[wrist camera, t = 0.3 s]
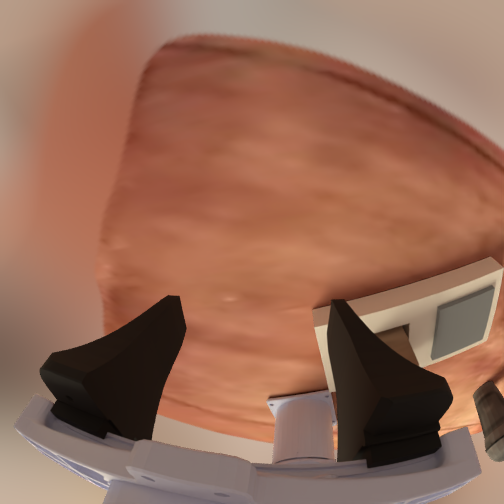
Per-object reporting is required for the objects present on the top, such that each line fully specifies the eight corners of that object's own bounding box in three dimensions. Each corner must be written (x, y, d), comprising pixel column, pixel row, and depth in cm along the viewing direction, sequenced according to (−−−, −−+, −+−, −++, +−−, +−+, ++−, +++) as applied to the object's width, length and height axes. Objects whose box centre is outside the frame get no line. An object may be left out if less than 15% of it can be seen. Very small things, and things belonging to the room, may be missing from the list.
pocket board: (478, 327, 23) (486, 340, 21) (327, 375, 28) (329, 392, 26) (490, 256, 20) (503, 267, 17) (312, 309, 24) (314, 327, 22)
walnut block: (395, 340, 25) (414, 391, 19) (360, 350, 26) (373, 403, 20) (395, 312, 24) (419, 364, 17) (357, 323, 24) (373, 378, 18)
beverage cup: (472, 386, 28) (507, 483, 10) (503, 369, 27) (543, 456, 9) (462, 407, 31) (489, 495, 13) (492, 392, 29) (522, 473, 11)
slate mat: (480, 335, 21) (482, 339, 20) (430, 356, 23) (432, 360, 22) (492, 284, 18) (495, 288, 18) (437, 306, 20) (440, 310, 19)
